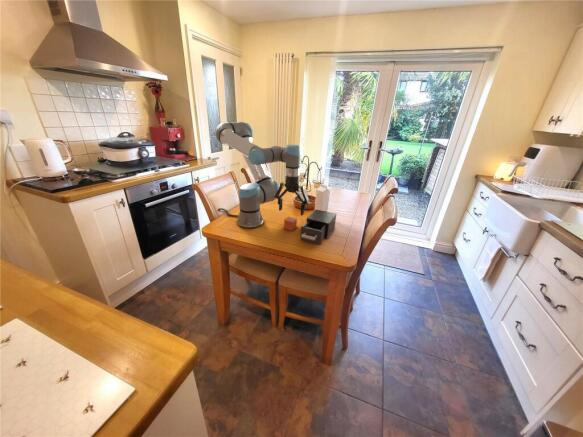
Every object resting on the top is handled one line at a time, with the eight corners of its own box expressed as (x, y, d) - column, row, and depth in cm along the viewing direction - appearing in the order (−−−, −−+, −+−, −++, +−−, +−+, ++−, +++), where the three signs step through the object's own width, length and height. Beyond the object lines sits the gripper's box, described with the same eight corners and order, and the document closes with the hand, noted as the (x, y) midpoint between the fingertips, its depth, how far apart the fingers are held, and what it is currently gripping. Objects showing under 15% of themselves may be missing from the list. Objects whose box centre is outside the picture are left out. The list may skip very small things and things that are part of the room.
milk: (320, 220, 148) (323, 187, 138) (313, 217, 152) (316, 184, 143) (327, 218, 151) (330, 185, 142) (320, 214, 156) (323, 183, 146)
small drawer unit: (327, 239, 127) (328, 223, 123) (305, 233, 132) (306, 218, 127) (334, 228, 139) (336, 213, 135) (314, 223, 144) (315, 209, 139)
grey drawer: (317, 249, 116) (319, 235, 112) (296, 243, 120) (297, 230, 116) (328, 234, 130) (330, 221, 127) (309, 229, 134) (310, 217, 131)
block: (284, 228, 136) (284, 220, 134) (288, 225, 140) (288, 216, 138) (292, 230, 134) (292, 222, 132) (296, 227, 138) (296, 218, 136)
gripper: (268, 173, 125) (268, 210, 134) (311, 180, 116) (309, 219, 125) (275, 170, 132) (275, 205, 141) (317, 177, 122) (314, 214, 131)
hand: (291, 212), depth 133 cm, fingers open, 13 cm apart
